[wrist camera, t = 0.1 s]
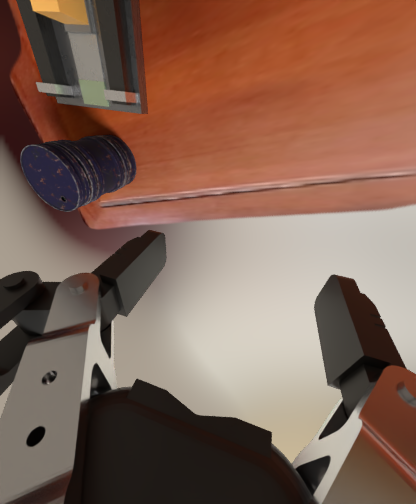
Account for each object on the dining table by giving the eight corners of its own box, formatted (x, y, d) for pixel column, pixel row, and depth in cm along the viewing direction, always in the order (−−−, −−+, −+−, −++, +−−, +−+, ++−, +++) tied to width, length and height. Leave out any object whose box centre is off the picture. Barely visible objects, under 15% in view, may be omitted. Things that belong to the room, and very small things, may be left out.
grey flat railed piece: (3, -125, 24) (-54, -175, 19) (127, -142, 21) (90, -204, 16) (66, 103, 37) (40, 102, 33) (147, 113, 34) (130, 113, 30)
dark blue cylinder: (85, 144, 40) (7, 157, 29) (118, 125, 36) (43, 131, 25) (113, 190, 45) (55, 218, 33) (145, 178, 41) (92, 204, 29)
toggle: (57, -16, 26) (17, -40, 22) (85, -17, 25) (48, -41, 21) (69, 32, 29) (34, 19, 25) (94, 33, 28) (63, 20, 24)
